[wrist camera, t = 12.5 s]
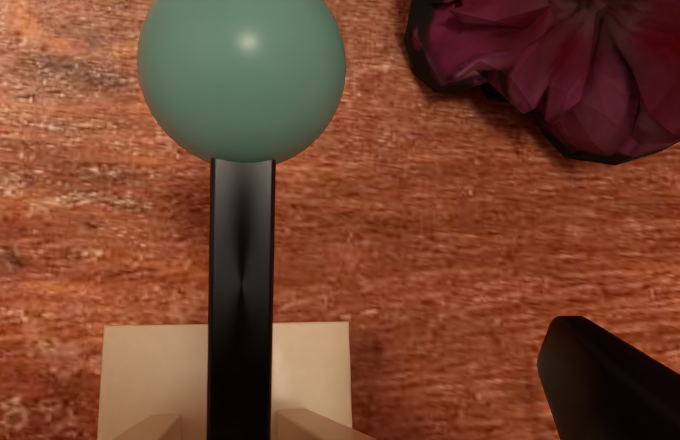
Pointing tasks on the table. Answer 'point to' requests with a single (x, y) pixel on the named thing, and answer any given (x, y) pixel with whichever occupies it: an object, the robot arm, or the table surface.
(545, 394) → the robot arm
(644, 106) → the flower arrangement
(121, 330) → the bracket
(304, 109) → the lever
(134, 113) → the table surface
